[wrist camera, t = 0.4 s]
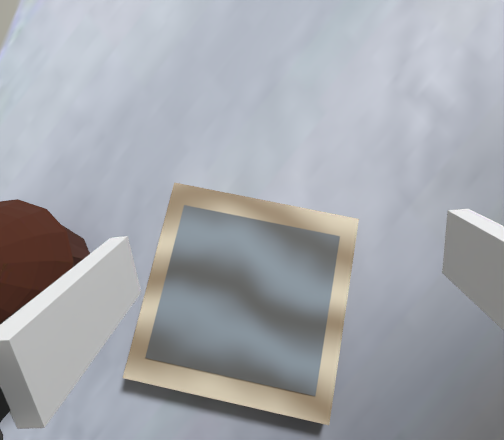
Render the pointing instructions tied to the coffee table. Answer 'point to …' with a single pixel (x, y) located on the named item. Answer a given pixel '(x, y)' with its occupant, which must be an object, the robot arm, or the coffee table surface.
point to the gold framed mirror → (246, 303)
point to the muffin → (32, 253)
